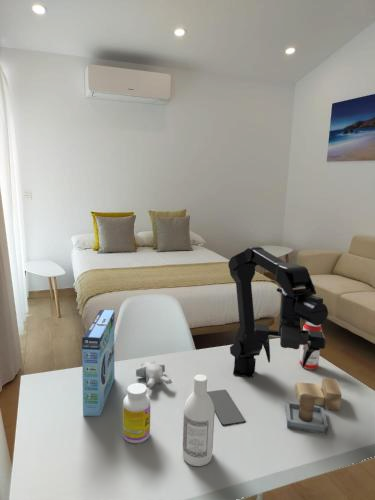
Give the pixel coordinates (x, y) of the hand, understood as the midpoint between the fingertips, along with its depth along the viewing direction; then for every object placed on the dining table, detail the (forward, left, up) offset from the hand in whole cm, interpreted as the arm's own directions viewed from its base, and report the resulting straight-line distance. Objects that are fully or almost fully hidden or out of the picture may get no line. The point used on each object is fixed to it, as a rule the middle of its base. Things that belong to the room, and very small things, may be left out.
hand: (285, 364), depth 102 cm
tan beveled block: (+8, +6, -13) cm, 17 cm away
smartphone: (-16, -5, -14) cm, 22 cm away
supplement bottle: (-36, -22, -13) cm, 44 cm away
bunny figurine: (-40, +3, -13) cm, 42 cm away
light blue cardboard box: (-52, -9, -13) cm, 54 cm away
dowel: (+6, -5, -12) cm, 14 cm away
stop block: (+14, +6, -13) cm, 20 cm away
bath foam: (-20, -25, -13) cm, 35 cm away
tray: (+6, -5, -13) cm, 15 cm away
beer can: (+10, +26, -13) cm, 31 cm away
